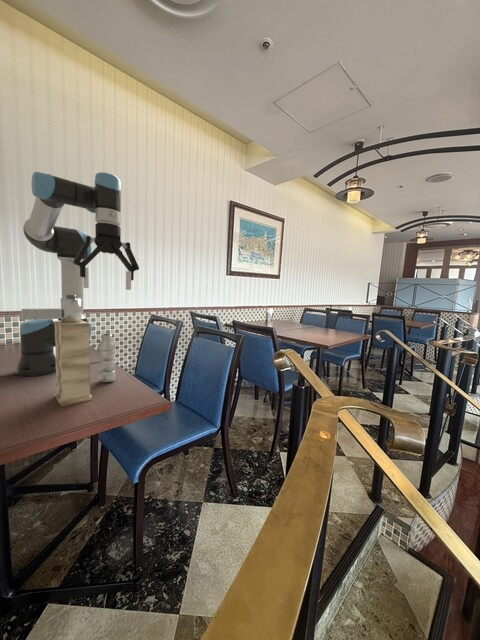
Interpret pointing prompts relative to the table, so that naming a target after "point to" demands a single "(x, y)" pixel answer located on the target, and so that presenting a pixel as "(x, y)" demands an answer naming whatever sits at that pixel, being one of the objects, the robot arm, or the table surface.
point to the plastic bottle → (106, 359)
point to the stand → (72, 362)
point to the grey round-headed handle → (58, 311)
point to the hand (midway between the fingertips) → (108, 288)
